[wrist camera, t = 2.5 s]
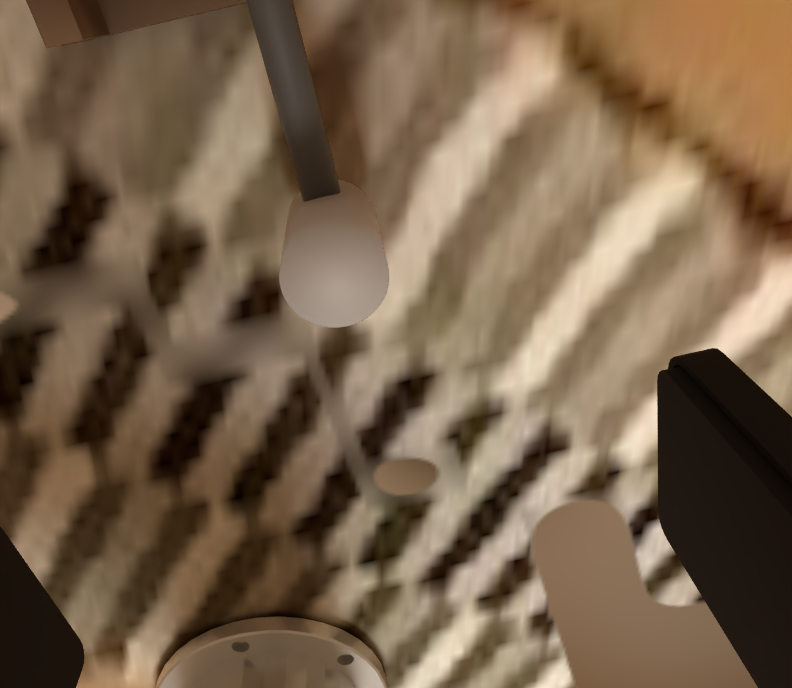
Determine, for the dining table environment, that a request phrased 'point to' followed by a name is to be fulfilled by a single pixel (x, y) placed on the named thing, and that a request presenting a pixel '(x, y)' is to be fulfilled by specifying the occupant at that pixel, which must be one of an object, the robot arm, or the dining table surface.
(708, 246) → the dining table surface
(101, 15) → the lane shelf
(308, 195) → the beige long handled piece
